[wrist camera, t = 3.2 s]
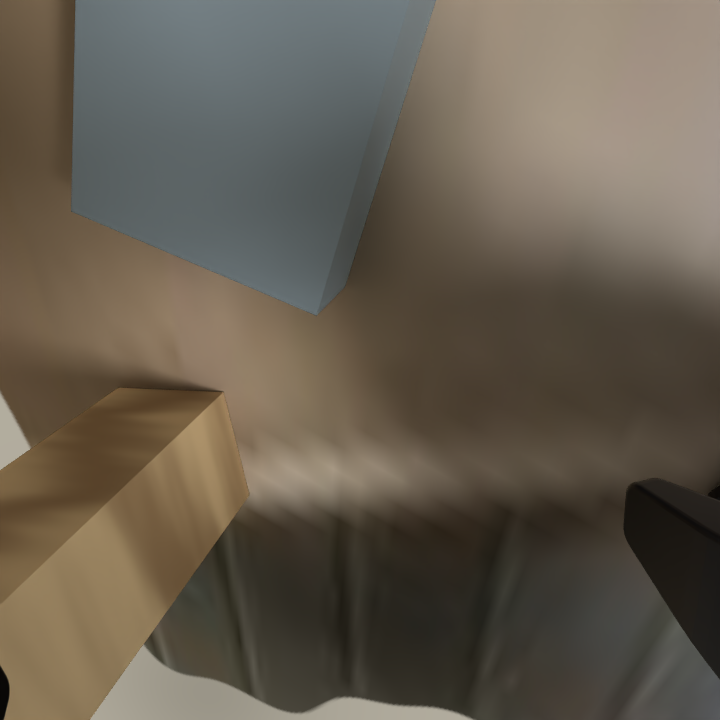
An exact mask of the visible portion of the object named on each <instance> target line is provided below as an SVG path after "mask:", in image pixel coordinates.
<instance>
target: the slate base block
mask: <svg viewBox="0 0 720 720" xmlns="http://www.w3.org/2000/svg"><path fill="white" fill-rule="evenodd" d="M435 1H436V0H75V49H74V98H73V148H72V198H71V212H74V213H76V214H78V215H81V216H83V217H85V218H88V219H90V220H93V221H95V222H97V223H100V224H102V225H104V226H107V227H109V228H111V229H114V230H116V231H118V232H121V233H123V234H125V235H128V236H130V237H132V238H135V239H137V240H140V241H142V242H144V243H147V244H149V245H151V246H154V247H156V248H158V249H161V250H163V251H165V252H168V253H170V254H172V255H175V256H177V257H180V258H182V259H184V260H187V261H189V262H191V263H194V264H196V265H198V266H201V267H203V268H205V269H208V270H210V271H212V272H215V273H217V274H220V275H222V276H224V277H227V278H229V279H231V280H234V281H236V282H238V283H241V284H243V285H245V286H248V287H250V288H252V289H255V290H257V291H259V292H262V293H264V294H267V295H269V296H271V297H274V298H276V299H278V300H281V301H283V302H285V303H288V304H290V305H292V306H295V307H297V308H299V309H302V310H304V311H307V312H309V313H311V314H314V315H316V316H317V315H318V314H319V313H320V312H321V311H322V310H323V309H324V308H325V307H326V306H327V305H328V304H329V303H330V302H331V301H332V300H333V299H334V297H335V296H336V295H337V294H338V293H339V292H340V291H341V290H342V289H343V288H344V287H345V285H346V282H347V279H348V276H349V273H350V270H351V266H352V263H353V260H354V257H355V254H356V251H357V247H358V244H359V241H360V238H361V235H362V232H363V229H364V225H365V222H366V219H367V216H368V213H369V210H370V206H371V203H372V200H373V197H374V194H375V191H376V188H377V184H378V181H379V178H380V175H381V172H382V169H383V165H384V162H385V159H386V156H387V153H388V150H389V147H390V143H391V140H392V137H393V134H394V131H395V128H396V124H397V121H398V118H399V115H400V112H401V109H402V106H403V102H404V99H405V96H406V93H407V90H408V87H409V83H410V80H411V77H412V74H413V71H414V68H415V65H416V61H417V58H418V55H419V52H420V49H421V46H422V42H423V39H424V36H425V33H426V30H427V27H428V24H429V20H430V17H431V14H432V11H433V8H434V5H435Z"/></svg>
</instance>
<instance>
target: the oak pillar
mask: <svg viewBox="0 0 720 720" xmlns="http://www.w3.org/2000/svg"><path fill="white" fill-rule="evenodd" d="M248 496H249V491H248V487H247V483H246V479H245V475H244V471H243V467H242V463H241V459H240V455H239V451H238V447H237V444H236V440H235V436H234V432H233V428H232V424H231V420H230V416H229V412H228V408H227V404H226V400H225V396H224V392H211V391H187V390H163V389H139V388H117V389H116V390H114V391H113V392H111V393H110V394H109V395H107V396H106V397H104V398H103V399H101V400H100V401H99V402H97V403H96V404H94V405H93V406H91V407H90V408H89V409H87V410H86V411H84V412H83V413H81V414H80V415H79V416H77V417H76V418H74V419H73V420H71V421H70V422H69V423H67V424H66V425H64V426H63V427H61V428H60V429H59V430H57V431H56V432H54V433H53V434H51V435H50V436H49V437H47V438H46V439H44V440H43V441H41V442H40V443H38V444H37V445H36V446H34V447H33V448H31V449H30V450H28V451H27V452H26V453H24V454H23V455H21V456H20V457H19V458H17V459H16V460H14V461H13V462H11V463H10V464H8V465H7V466H6V467H4V468H3V469H1V470H0V666H1V667H2V669H3V671H4V672H5V674H6V676H7V678H8V681H9V685H10V695H9V701H8V706H7V710H6V714H5V718H4V720H90V719H91V717H92V716H93V714H94V713H95V712H96V710H97V709H98V707H99V706H100V705H101V703H102V702H103V700H104V699H105V697H106V696H107V695H108V693H109V692H110V690H111V689H112V688H113V686H114V685H115V683H116V682H117V680H118V679H119V678H120V676H121V675H122V674H123V672H124V671H125V669H126V668H127V666H128V665H129V664H130V662H131V661H132V659H133V658H134V657H135V655H136V654H137V652H138V651H139V650H140V648H141V647H142V646H143V644H144V643H145V641H146V640H147V638H148V637H149V636H150V634H151V633H152V631H153V630H154V629H155V627H156V626H157V624H158V623H159V622H160V620H161V619H162V617H163V616H164V615H165V613H166V612H167V610H168V609H169V608H170V606H171V605H172V603H173V602H174V600H175V599H176V598H177V596H178V595H179V593H180V592H181V591H182V589H183V588H184V586H185V585H186V584H187V582H188V581H189V579H190V578H191V577H192V575H193V574H194V572H195V571H196V570H197V568H198V567H199V565H200V564H201V563H202V561H203V560H204V558H205V557H206V555H207V554H208V553H209V551H210V550H211V548H212V547H213V546H214V544H215V543H216V541H217V540H218V539H219V537H220V536H221V534H222V533H223V532H224V530H225V529H226V527H227V526H228V525H229V523H230V522H231V520H232V519H233V517H234V516H235V515H236V513H237V512H238V510H239V509H240V508H241V506H242V505H243V503H244V502H245V501H246V499H247V498H248Z"/></svg>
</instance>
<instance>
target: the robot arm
mask: <svg viewBox="0 0 720 720" xmlns="http://www.w3.org/2000/svg"><path fill="white" fill-rule="evenodd" d="M624 534H625V537H626V539H627V542H628V544H629V545H630V547H631V549H632V550H633V552H634V553H635V555H636V557H637V558H638V560H639V561H640V563H641V564H642V566H643V568H644V569H645V571H646V572H647V574H648V575H649V577H650V579H651V580H652V582H653V583H654V585H655V586H656V588H657V590H658V591H659V593H660V594H661V596H662V598H663V599H664V601H665V602H666V604H667V605H668V607H669V609H670V610H671V612H672V613H673V615H674V616H675V618H676V620H677V621H678V623H679V624H680V626H681V627H682V629H683V630H684V632H685V633H686V635H687V636H688V638H689V639H690V641H691V642H692V643H693V645H694V646H695V647H696V649H697V650H698V652H699V653H700V654H701V656H702V657H703V658H704V660H705V661H706V662H707V663H708V665H709V666H710V667H711V669H712V670H713V671H714V673H715V674H716V675H717V676H718V678H719V679H720V486H718V487H717V488H715V489H713V490H712V491H711V492H710V493H709V494H708V496H706V495H703V494H700V493H697V492H695V491H692V490H689V489H686V488H684V487H681V486H678V485H676V484H673V483H670V482H667V481H665V480H662V479H658V478H651V479H647V480H643V481H638V482H634V483H632V484H630V485H629V486H628V488H627V491H626V500H625V513H624ZM9 695H10V685H9V681H8V678H7V676H6V674H5V672H4V671H3V669H2V667H1V666H0V720H4V718H5V714H6V710H7V706H8V701H9Z"/></svg>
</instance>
